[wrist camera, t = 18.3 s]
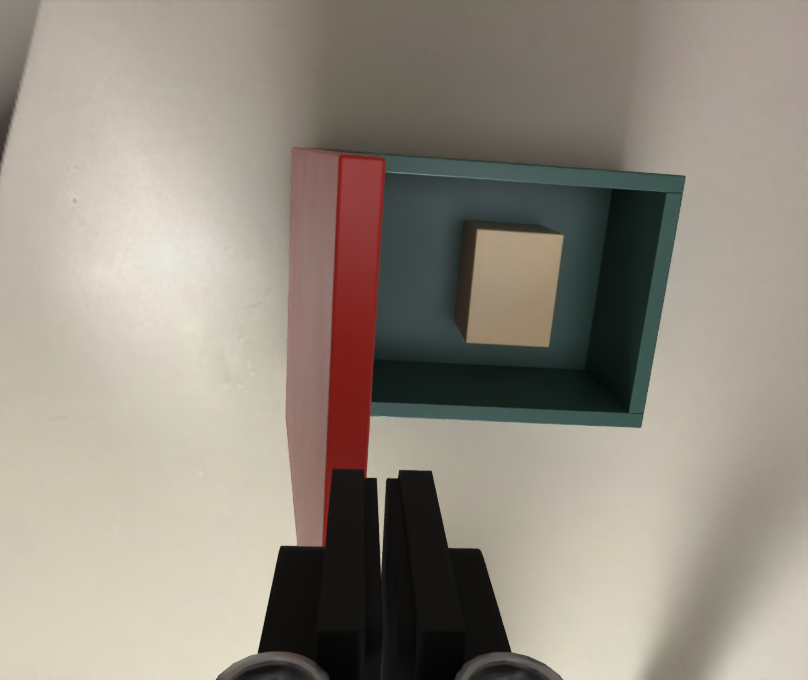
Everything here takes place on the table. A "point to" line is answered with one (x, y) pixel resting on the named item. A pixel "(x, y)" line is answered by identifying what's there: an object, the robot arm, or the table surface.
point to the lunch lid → (330, 323)
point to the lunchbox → (574, 305)
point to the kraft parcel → (507, 283)
